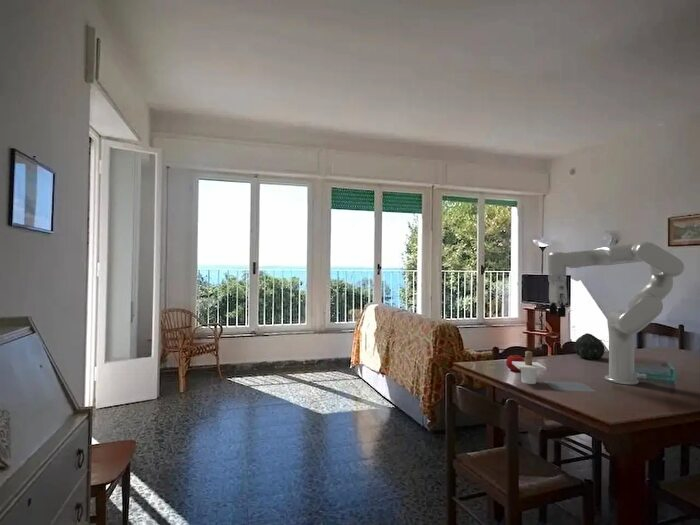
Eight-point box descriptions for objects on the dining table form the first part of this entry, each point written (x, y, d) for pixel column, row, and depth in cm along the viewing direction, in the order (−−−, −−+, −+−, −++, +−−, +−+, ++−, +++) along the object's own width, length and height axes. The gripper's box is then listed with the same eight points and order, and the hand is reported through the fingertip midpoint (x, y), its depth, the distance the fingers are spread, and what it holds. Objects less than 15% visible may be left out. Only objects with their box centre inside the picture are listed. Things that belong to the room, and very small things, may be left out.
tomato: (515, 367, 208) (515, 351, 208) (529, 371, 200) (529, 355, 200) (501, 369, 204) (502, 352, 205) (515, 373, 196) (516, 356, 197)
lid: (537, 364, 185) (537, 349, 185) (546, 370, 174) (546, 354, 174) (511, 363, 186) (512, 349, 186) (519, 369, 175) (519, 353, 175)
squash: (597, 346, 242) (581, 326, 242) (615, 352, 227) (598, 331, 227) (579, 362, 242) (563, 342, 241) (595, 369, 227) (578, 348, 226)
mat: (581, 383, 180) (581, 382, 180) (597, 392, 166) (597, 391, 166) (543, 381, 182) (543, 380, 182) (555, 391, 168) (555, 390, 168)
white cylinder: (539, 385, 175) (539, 369, 176) (521, 384, 177) (522, 368, 177) (535, 381, 182) (535, 365, 182) (518, 380, 184) (518, 364, 184)
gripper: (573, 279, 183) (574, 317, 183) (558, 278, 201) (558, 313, 200) (556, 279, 184) (556, 317, 184) (541, 278, 201) (542, 313, 201)
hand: (557, 315), depth 192 cm, fingers open, 9 cm apart
